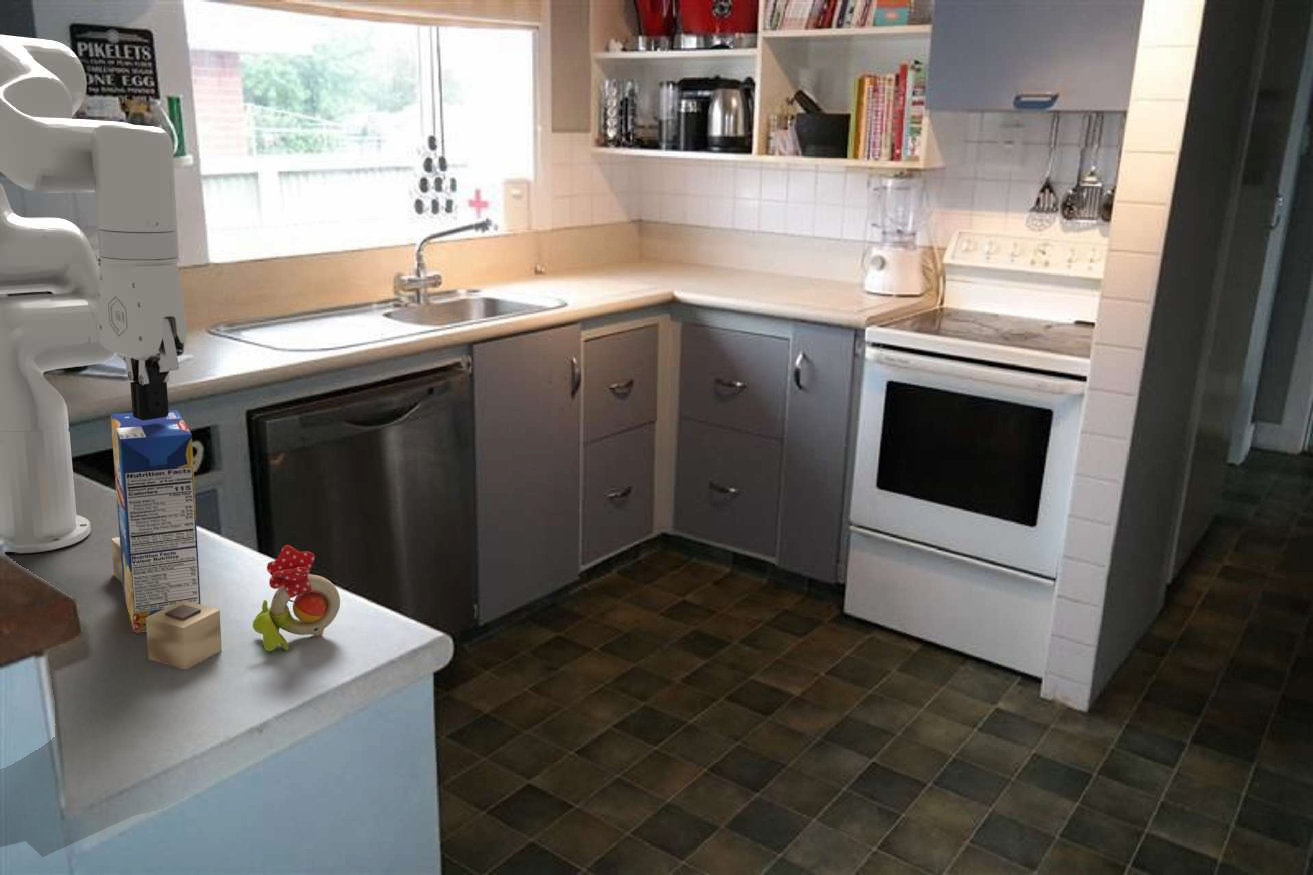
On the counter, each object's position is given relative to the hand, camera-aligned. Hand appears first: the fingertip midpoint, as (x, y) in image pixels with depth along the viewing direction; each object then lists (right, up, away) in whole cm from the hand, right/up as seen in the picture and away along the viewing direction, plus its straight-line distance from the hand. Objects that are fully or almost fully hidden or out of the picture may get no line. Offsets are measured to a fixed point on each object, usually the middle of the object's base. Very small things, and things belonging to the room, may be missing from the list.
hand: (151, 416), depth 117 cm
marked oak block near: (+5, -25, -4) cm, 26 cm away
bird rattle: (+15, -25, +1) cm, 29 cm away
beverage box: (-2, -22, +6) cm, 23 cm away
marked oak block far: (-8, -19, +14) cm, 25 cm away
